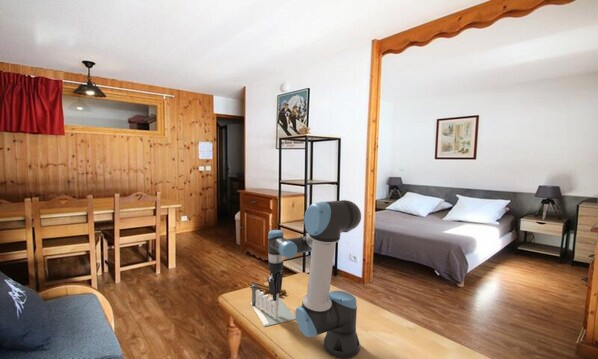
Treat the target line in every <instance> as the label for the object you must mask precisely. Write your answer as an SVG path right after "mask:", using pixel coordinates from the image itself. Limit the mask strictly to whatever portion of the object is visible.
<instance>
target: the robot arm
mask: <svg viewBox="0 0 598 359" xmlns="http://www.w3.org/2000/svg"><path fill="white" fill-rule="evenodd" d="M361 220H362V212H361V209H360V208H359V206H358V205H357V204H356V203H355V202H353V201H351V200H347V199H343V200H342V199H341V200H334V201H333V200H331V201H319V202H313V203H312V204H310V205H308V207H307V209H306V210H305V213H304V218H303V224H304V228H305V232H306V233H308V234H307V235H305V236H299V237H292V238H285V237H284V232H283V230H280V229H272V230H269V231H268V236H267V239H268V240H267V242H268V247H267V249H268V253H267V254H268V264H267V265H268V266H267V267H268V270H269V271H270V273H269V277H267V282H268V286H269V290H270V292H269V295H271V296H272V298H273V300H274V301H276V300H277V301H278V306H279V298H280V296H279V293H281V291H280V290H281V289H282V287H283V286H282V285H283V277H284V272H285V271H284V270H283V269H284V257H285V258H287V259H292V258H294V257H295V256H296V255H297V254H302V253H309V252H310V254H311V255H310V263H309V264H310V265H309V273H308V282H307V291H306V292H307V293H306V295H304V296H303V298H302V304H301V305H298V307H296V309H295V312H294V316H295V317H296V319H295V321H296V324H297V327H298V328H299V331H300V332H301V334H303V336H305V337H306V338H313V337H317V336H319V335H322V334H325V333H326V334H325V336H324V339H323V347H324V348H323V349H324V350H325V352H326V353H327V354H329V355H330V356H332V357H335V358H338V359H350V358H351V359H352V358H354V357H356V356H357V355H358V354H359V353H360V351H361V350H360V345H361V343H360V340H359V337H358V333H357V313H358V312H357V311H358V310H357V309H358V305H357V298H356V297H355V295H353V294H352V293H349V292H347V291H344V290H343V291H342V290H332V291H331V290H330V289H331V282H332V274H333V264H334V255H335V248H336V243H338V242H339V241H340V239H341V234H342V233H349V232H350V231H352V230H354V229H356V228H358V225H360V223H361ZM273 306H274V305H273Z"/></svg>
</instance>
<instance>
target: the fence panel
mask: <svg viewBox="0 0 598 359" xmlns="http://www.w3.org/2000/svg"><path fill="white" fill-rule="evenodd" d="M260 290H261V289H257V290H256V292H255V294H256V303H255V305H256V307H259V308H260V309H261V310H263V311H264V312H265V313H268V314H269V316H272V317H274V319H275V320H276V319H278V301H277V300H276V301H274V300H273V296H272V297H269V295H268V294H264V292H262V291H260ZM268 302H269V309H268ZM273 305H274V312H273Z"/></svg>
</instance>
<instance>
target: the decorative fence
mask: <svg viewBox="0 0 598 359" xmlns="http://www.w3.org/2000/svg"><path fill="white" fill-rule="evenodd" d="M252 284H257V289H259V290H262V291H261V292H264V295H267V294H268V293H270V290H269V284H268V285H266V284H265V283H264V282H262V283H261V282H259V281H257V280H256V281H255V280H253V281H251V282H248V284H247V286H250V287H252V286H251V285H252ZM280 291H281V293H279V297H280V296H282V295H283V294H285V293H287V292H286V291H287V290H286V289H283V288H281V290H280Z"/></svg>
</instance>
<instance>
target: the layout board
mask: <svg viewBox="0 0 598 359" xmlns="http://www.w3.org/2000/svg"><path fill="white" fill-rule="evenodd" d="M249 304H250V306H251V308H252V309H253V311H254V312H255V314H256V316H257V318H258V319H259V320H260V323H261V324H262V325H263V327H265V326H266V327H269V326H273V325H277V324H282V323H285V322H286V323H287V322H291V321H294V320H295V321H296V317H295V314H293V312H292V311H291V310H290V309H289V308H288V306H287V305H286V304H285V302H283V300H282V299H281V298H280V297H279V306H278V319H276V320H275V319H274V317H272V316H269V314H268V313H265V312H264V311H263V310H261V309H260V308H259V307H256V306H252V301H251V302H249ZM268 309H269V302H268ZM273 312H274V306H273Z"/></svg>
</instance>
